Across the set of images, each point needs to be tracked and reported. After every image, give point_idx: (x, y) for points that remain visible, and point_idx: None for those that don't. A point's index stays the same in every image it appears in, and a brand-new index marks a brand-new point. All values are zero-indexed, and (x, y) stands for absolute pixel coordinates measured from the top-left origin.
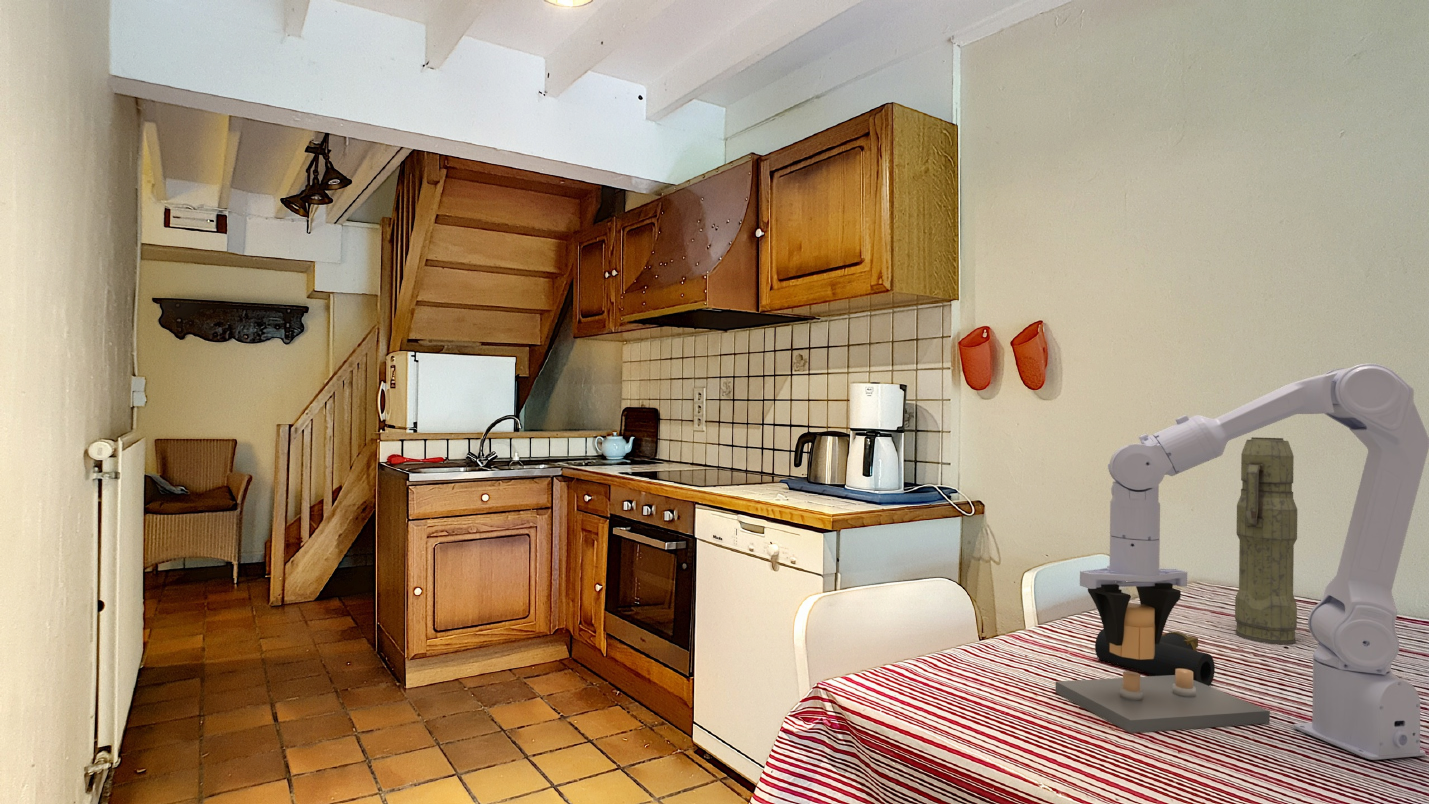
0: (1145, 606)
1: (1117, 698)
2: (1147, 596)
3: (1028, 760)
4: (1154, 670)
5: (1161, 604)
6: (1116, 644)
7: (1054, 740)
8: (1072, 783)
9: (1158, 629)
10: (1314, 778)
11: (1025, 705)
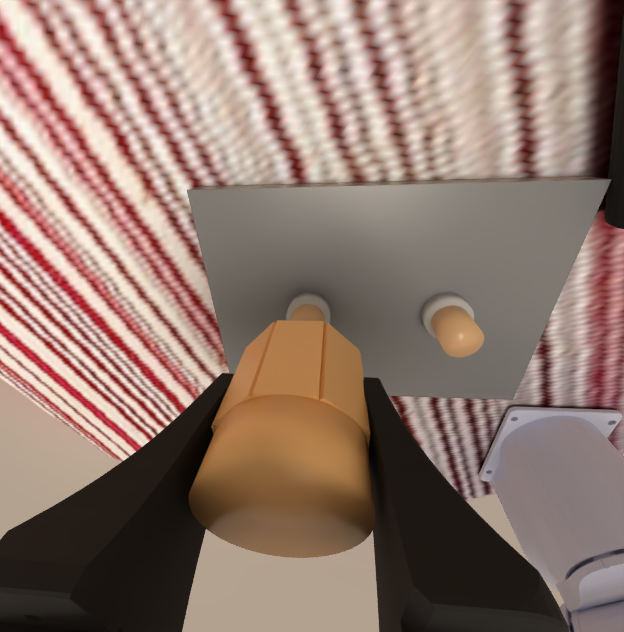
0: (350, 522)
1: (274, 312)
2: (391, 569)
3: (71, 410)
4: (619, 76)
5: (378, 584)
6: None
7: (118, 377)
8: (107, 449)
9: None
10: None
11: (106, 252)
